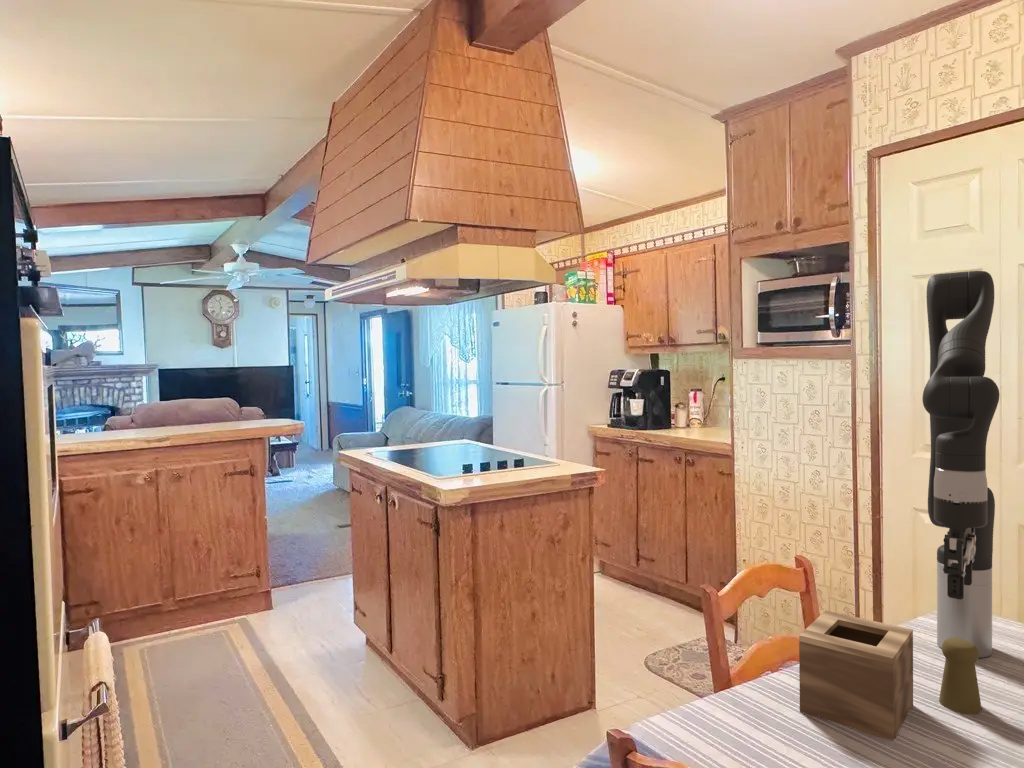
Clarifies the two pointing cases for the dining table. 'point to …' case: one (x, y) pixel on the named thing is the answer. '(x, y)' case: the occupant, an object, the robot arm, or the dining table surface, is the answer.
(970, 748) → the dining table surface
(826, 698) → the walnut box
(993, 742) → the dining table surface
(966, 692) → the olive pawn
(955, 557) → the robot arm
